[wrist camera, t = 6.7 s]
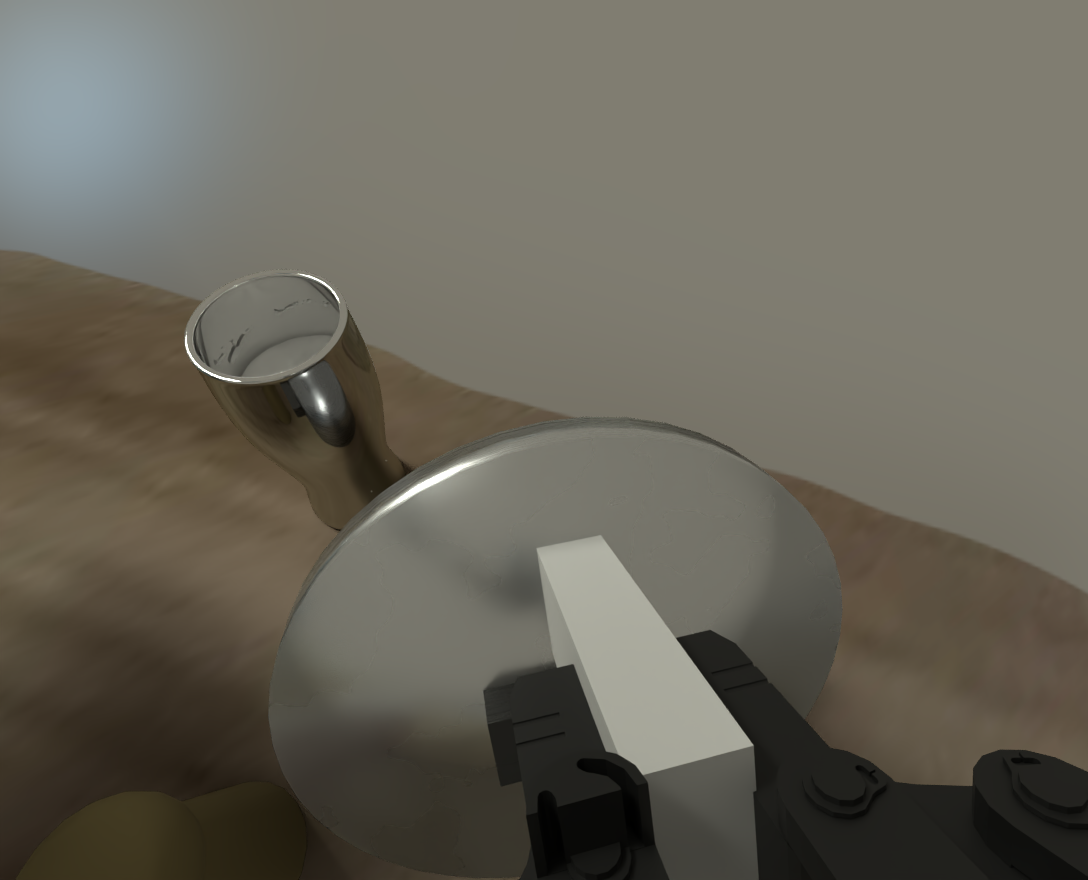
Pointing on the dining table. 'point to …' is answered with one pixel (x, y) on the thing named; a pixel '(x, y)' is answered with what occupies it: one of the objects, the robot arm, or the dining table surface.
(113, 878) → the cork
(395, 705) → the lid
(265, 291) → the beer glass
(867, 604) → the dining table surface
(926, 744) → the dining table surface
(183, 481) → the dining table surface
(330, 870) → the dining table surface
